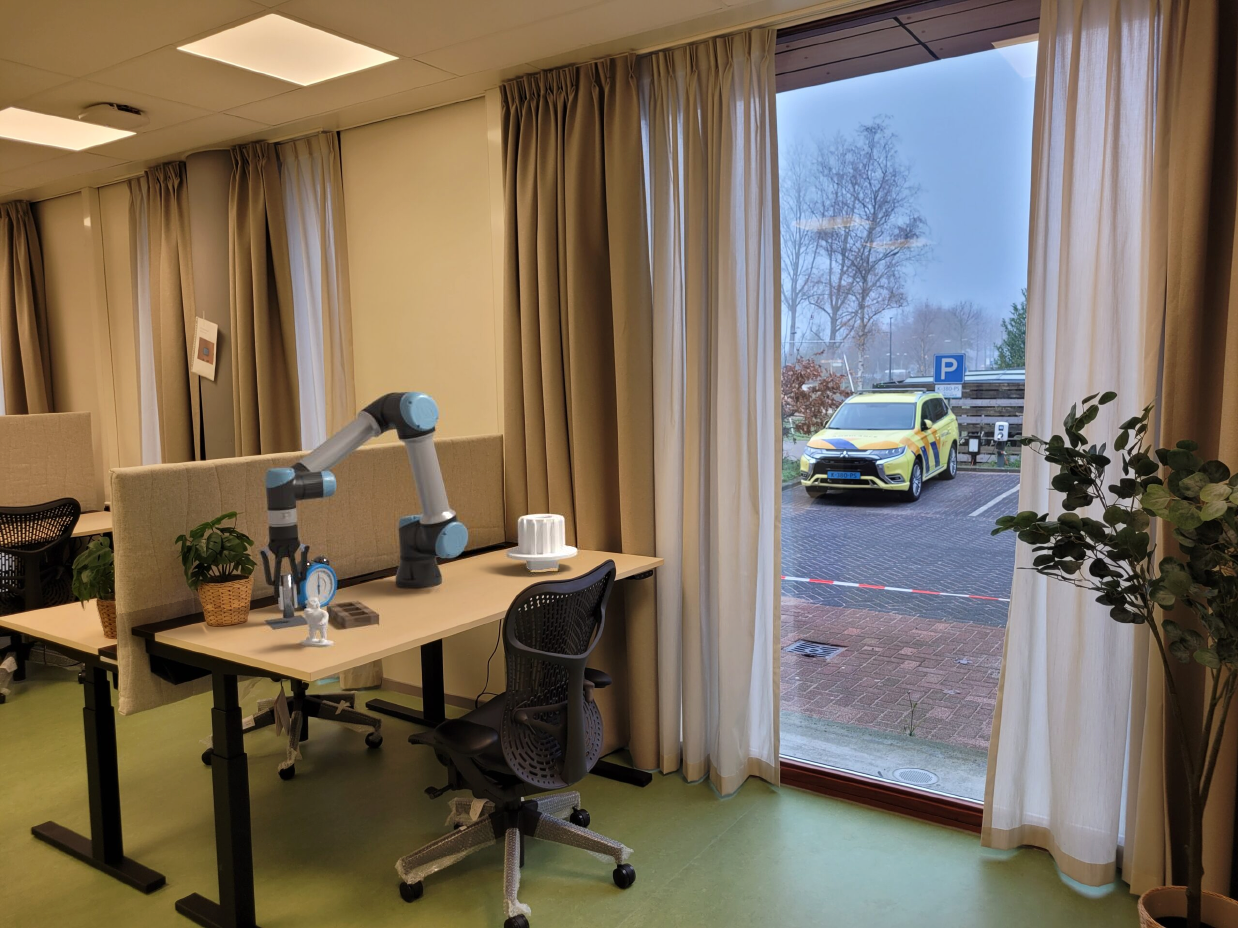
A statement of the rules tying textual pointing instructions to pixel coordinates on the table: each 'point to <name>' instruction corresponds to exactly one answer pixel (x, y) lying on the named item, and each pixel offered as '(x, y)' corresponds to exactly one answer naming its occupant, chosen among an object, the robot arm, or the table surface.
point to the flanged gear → (541, 541)
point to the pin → (287, 595)
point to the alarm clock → (317, 582)
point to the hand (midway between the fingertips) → (288, 607)
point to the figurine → (316, 624)
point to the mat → (286, 622)
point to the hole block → (352, 614)
